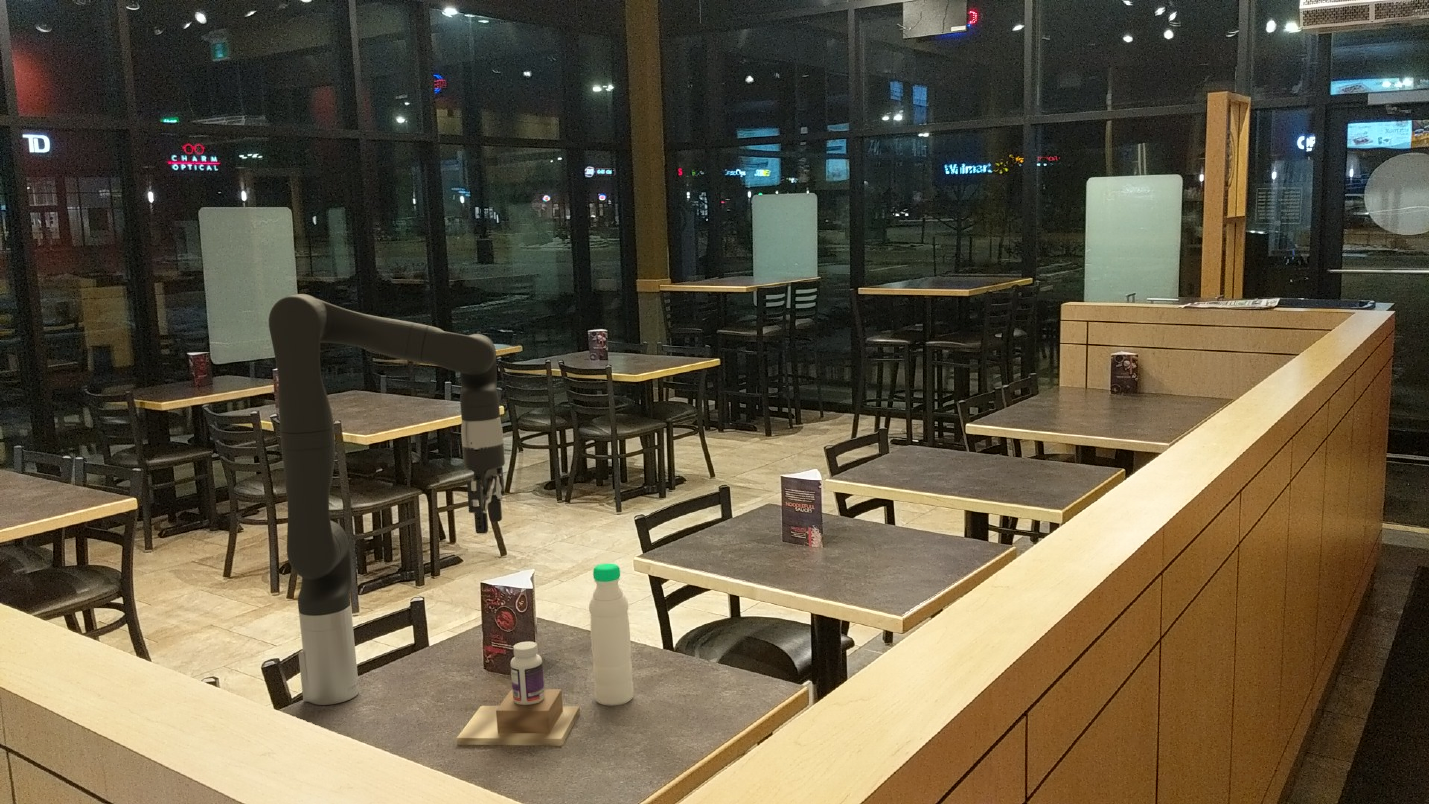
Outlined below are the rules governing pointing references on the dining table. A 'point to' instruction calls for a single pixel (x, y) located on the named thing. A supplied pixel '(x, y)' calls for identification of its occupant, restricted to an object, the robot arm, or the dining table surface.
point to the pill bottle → (527, 674)
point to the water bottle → (610, 638)
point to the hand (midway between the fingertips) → (489, 527)
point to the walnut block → (530, 714)
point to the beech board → (486, 733)
